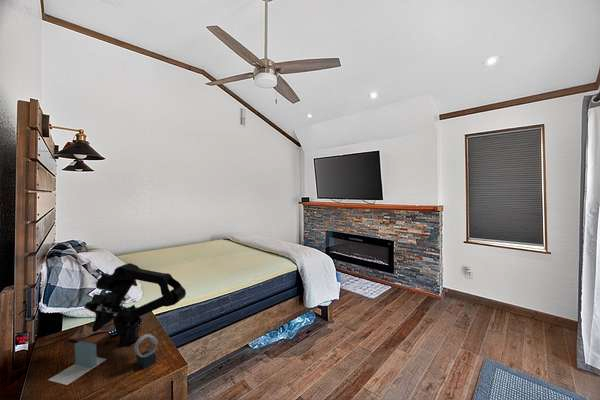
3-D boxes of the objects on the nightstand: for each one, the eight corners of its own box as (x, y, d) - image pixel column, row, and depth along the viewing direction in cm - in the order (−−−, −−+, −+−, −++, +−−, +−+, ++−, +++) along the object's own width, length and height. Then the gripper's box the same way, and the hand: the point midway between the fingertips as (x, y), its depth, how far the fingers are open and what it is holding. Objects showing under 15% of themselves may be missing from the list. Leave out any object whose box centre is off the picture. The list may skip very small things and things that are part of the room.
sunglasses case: (64, 340, 115) (72, 323, 118) (79, 340, 121) (87, 325, 124) (92, 348, 109) (100, 331, 112) (107, 348, 115) (114, 332, 118)
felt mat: (89, 356, 105) (89, 355, 105) (106, 359, 102) (106, 359, 102) (47, 380, 91) (47, 379, 91) (67, 385, 89) (67, 385, 89)
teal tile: (80, 361, 101) (80, 341, 101) (96, 364, 99) (96, 344, 99) (75, 364, 99) (74, 343, 99) (91, 368, 97) (90, 347, 97)
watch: (160, 360, 103) (160, 332, 102) (139, 371, 96) (138, 342, 96) (153, 355, 106) (152, 328, 105) (131, 366, 99) (131, 337, 99)
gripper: (88, 282, 108) (58, 321, 98) (124, 286, 104) (97, 328, 94) (106, 293, 116) (81, 330, 106) (141, 298, 112) (117, 337, 102)
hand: (93, 331), depth 102 cm, fingers closed
